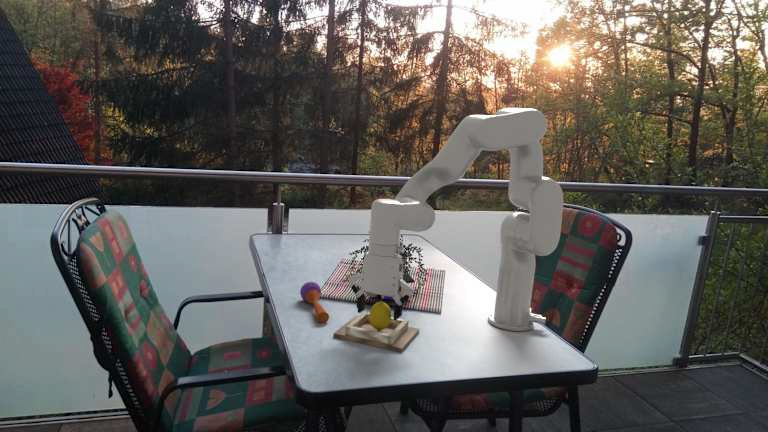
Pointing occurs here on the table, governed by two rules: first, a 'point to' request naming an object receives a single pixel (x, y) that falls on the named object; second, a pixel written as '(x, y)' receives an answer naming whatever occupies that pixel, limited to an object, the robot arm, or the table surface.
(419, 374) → the table surface
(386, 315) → the lemon
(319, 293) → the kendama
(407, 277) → the figurine character
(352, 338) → the jig board
